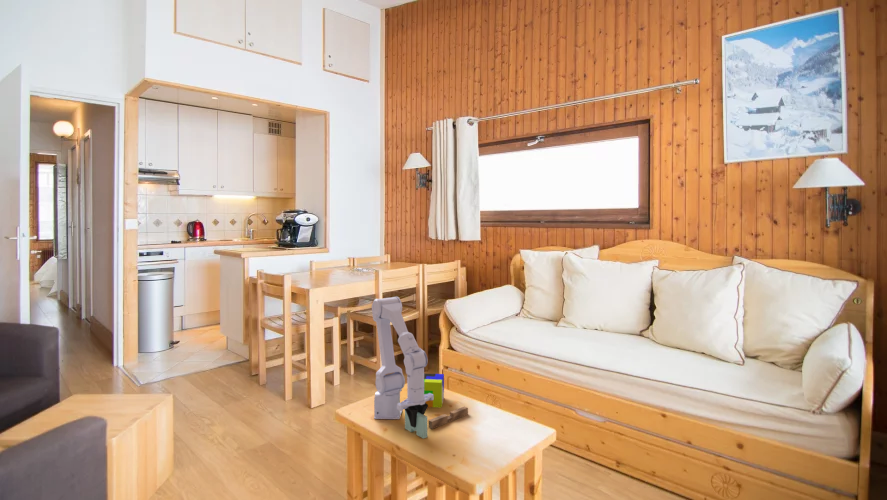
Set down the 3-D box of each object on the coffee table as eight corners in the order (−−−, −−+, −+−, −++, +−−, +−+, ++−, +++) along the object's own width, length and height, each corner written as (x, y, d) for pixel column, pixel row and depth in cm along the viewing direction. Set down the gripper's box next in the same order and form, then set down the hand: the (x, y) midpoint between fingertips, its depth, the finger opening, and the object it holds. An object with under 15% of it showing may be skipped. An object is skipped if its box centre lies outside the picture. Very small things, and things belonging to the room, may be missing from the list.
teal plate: (427, 436, 156) (427, 416, 156) (423, 438, 155) (423, 418, 155) (408, 427, 164) (408, 407, 163) (404, 428, 162) (404, 409, 162)
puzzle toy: (443, 398, 191) (443, 374, 190) (441, 407, 181) (441, 382, 180) (419, 397, 192) (419, 373, 191) (415, 406, 182) (415, 381, 181)
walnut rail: (431, 429, 162) (431, 421, 162) (428, 427, 163) (428, 420, 163) (467, 414, 174) (467, 407, 174) (464, 412, 176) (464, 406, 175)
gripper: (406, 395, 150) (406, 435, 151) (439, 384, 160) (439, 422, 161) (393, 389, 156) (393, 428, 156) (426, 379, 165) (426, 416, 166)
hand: (415, 425), depth 159 cm, fingers closed on teal plate, 2 cm apart
